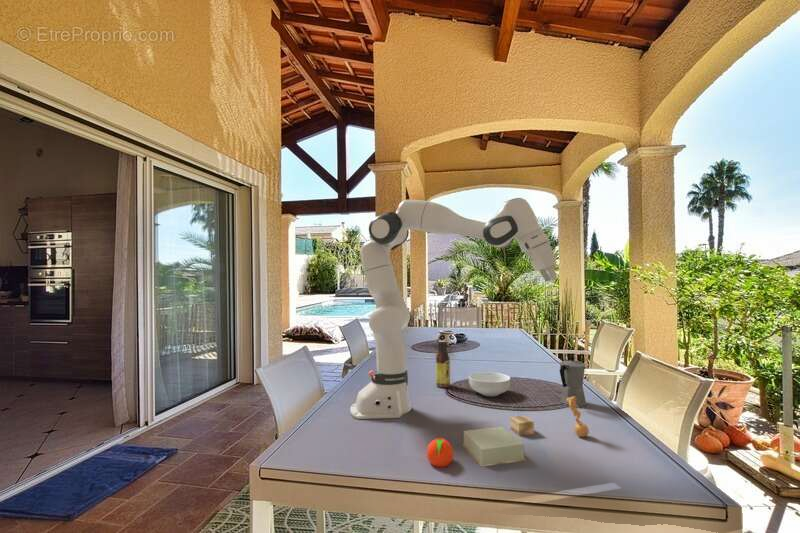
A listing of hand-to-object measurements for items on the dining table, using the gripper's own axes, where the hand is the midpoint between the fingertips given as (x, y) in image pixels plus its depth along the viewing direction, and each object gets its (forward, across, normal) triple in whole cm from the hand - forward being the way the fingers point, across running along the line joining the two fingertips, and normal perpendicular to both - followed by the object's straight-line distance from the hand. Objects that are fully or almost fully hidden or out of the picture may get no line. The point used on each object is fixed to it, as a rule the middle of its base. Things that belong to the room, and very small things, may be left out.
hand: (551, 280), depth 127 cm
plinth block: (+35, +21, -38) cm, 56 cm away
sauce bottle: (+26, -42, -53) cm, 73 cm away
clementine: (+31, +30, -52) cm, 67 cm away
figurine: (+46, +5, -14) cm, 48 cm away
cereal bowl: (+35, -34, -35) cm, 60 cm away
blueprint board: (+36, +21, -39) cm, 57 cm away
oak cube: (+40, +6, -29) cm, 50 cm away
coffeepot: (+47, -25, -8) cm, 54 cm away
